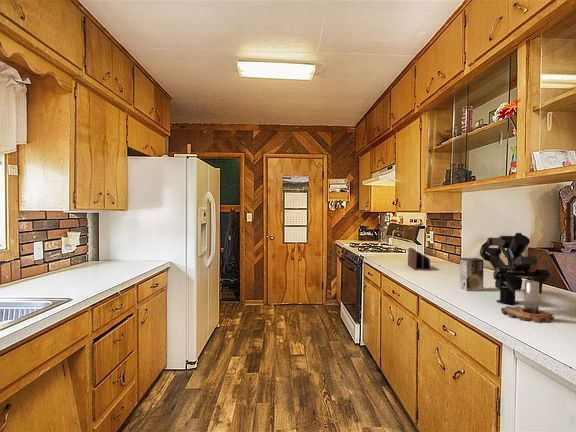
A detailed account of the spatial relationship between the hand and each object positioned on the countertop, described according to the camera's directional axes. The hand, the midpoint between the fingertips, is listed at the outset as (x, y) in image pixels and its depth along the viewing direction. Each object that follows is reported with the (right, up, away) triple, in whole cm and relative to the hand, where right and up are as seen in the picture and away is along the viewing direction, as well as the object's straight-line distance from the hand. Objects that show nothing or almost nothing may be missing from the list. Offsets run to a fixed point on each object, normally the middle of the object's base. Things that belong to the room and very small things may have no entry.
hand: (527, 292), depth 130 cm
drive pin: (-1, -8, -3) cm, 9 cm away
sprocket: (0, -9, 0) cm, 9 cm away
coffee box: (+1, -8, +42) cm, 43 cm away
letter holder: (-1, -7, +105) cm, 105 cm away
